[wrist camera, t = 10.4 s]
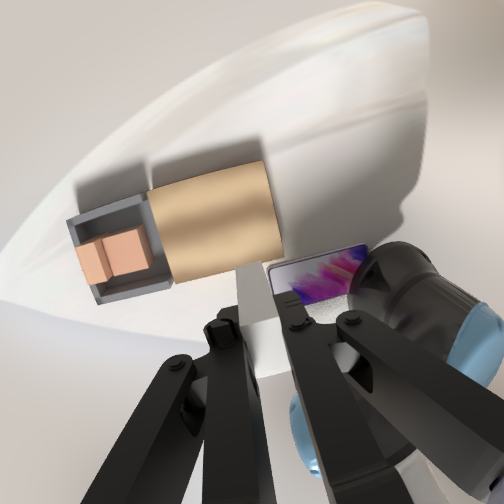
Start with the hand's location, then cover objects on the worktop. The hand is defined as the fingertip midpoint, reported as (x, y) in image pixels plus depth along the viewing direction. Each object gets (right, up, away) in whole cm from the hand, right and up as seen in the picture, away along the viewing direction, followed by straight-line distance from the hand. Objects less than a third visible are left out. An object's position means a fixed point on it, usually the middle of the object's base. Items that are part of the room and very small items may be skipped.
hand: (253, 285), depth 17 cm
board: (-4, +6, +20) cm, 21 cm away
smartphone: (+10, -2, +24) cm, 26 cm away
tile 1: (-18, +1, +17) cm, 25 cm away
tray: (-17, +3, +20) cm, 26 cm away
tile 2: (-16, +3, +19) cm, 25 cm away
